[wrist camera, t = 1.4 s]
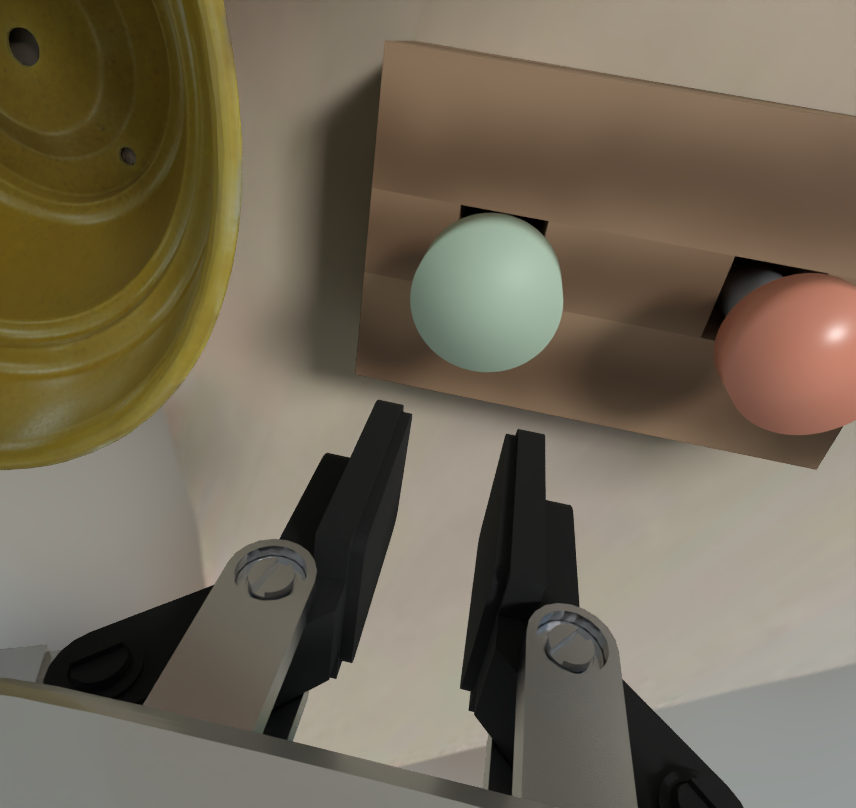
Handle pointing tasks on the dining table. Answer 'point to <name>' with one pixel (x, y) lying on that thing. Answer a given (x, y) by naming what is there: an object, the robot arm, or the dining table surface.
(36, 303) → the planter bowl
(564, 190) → the button panel
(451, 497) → the dining table surface
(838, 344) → the red button
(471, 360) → the green button
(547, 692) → the robot arm
